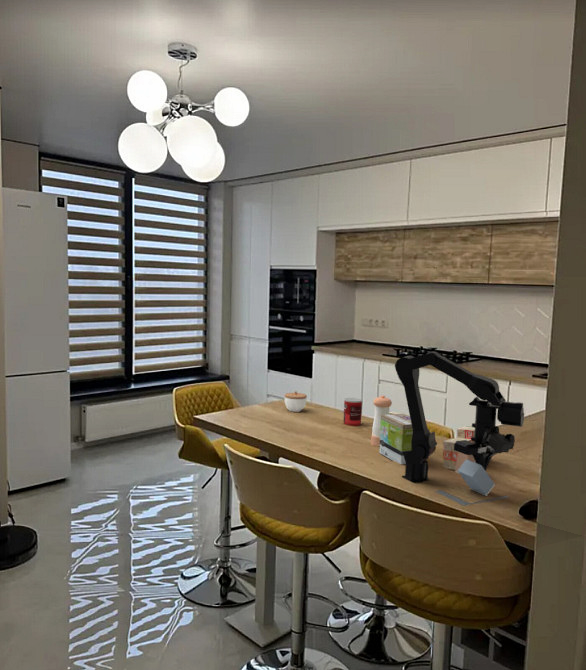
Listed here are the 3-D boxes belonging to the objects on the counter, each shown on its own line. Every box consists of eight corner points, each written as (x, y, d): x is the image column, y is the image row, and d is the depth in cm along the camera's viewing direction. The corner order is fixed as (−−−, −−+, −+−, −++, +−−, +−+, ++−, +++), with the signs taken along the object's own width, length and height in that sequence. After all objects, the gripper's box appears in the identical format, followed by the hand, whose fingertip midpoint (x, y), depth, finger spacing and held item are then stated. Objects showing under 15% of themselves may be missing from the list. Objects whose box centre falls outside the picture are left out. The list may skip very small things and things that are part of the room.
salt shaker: (368, 445, 216) (371, 396, 214) (373, 440, 223) (375, 393, 221) (387, 447, 213) (390, 398, 212) (391, 443, 220) (394, 395, 219)
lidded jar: (306, 408, 278) (307, 390, 277) (305, 413, 267) (306, 394, 266) (285, 407, 279) (285, 388, 278) (282, 412, 268) (283, 392, 267)
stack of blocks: (459, 471, 186) (458, 434, 186) (443, 468, 191) (442, 432, 191) (491, 460, 201) (490, 425, 201) (475, 457, 205) (474, 423, 205)
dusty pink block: (478, 475, 185) (482, 449, 183) (464, 477, 182) (468, 451, 181) (468, 469, 189) (472, 444, 187) (455, 471, 186) (458, 446, 184)
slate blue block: (486, 496, 165) (472, 477, 161) (471, 489, 170) (457, 470, 167) (495, 484, 166) (481, 465, 163) (479, 478, 171) (466, 459, 168)
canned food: (348, 420, 255) (349, 397, 255) (364, 423, 251) (365, 399, 250) (339, 423, 249) (341, 399, 248) (355, 426, 245) (357, 402, 244)
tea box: (378, 453, 205) (380, 413, 204) (401, 451, 209) (403, 412, 208) (400, 466, 191) (403, 423, 190) (425, 464, 195) (428, 422, 194)
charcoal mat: (463, 507, 157) (463, 505, 157) (434, 492, 167) (434, 491, 167) (509, 498, 165) (509, 496, 165) (478, 484, 176) (479, 483, 176)
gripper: (482, 431, 155) (479, 486, 156) (530, 425, 163) (526, 477, 165) (454, 421, 165) (451, 473, 166) (499, 416, 173) (496, 466, 174)
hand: (482, 473), depth 167 cm, fingers closed
